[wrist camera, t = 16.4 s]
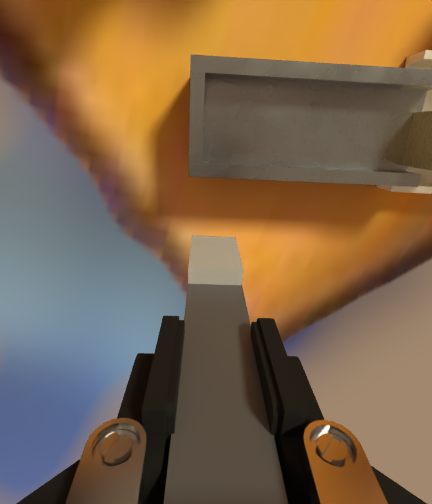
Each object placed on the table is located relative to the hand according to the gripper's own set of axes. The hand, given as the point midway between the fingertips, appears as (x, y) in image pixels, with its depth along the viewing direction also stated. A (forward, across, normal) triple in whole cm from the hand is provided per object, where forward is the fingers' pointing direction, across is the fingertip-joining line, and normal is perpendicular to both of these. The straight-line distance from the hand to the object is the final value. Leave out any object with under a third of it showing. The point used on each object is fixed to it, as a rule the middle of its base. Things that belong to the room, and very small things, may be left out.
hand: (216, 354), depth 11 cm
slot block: (+21, -7, -8) cm, 24 cm away
